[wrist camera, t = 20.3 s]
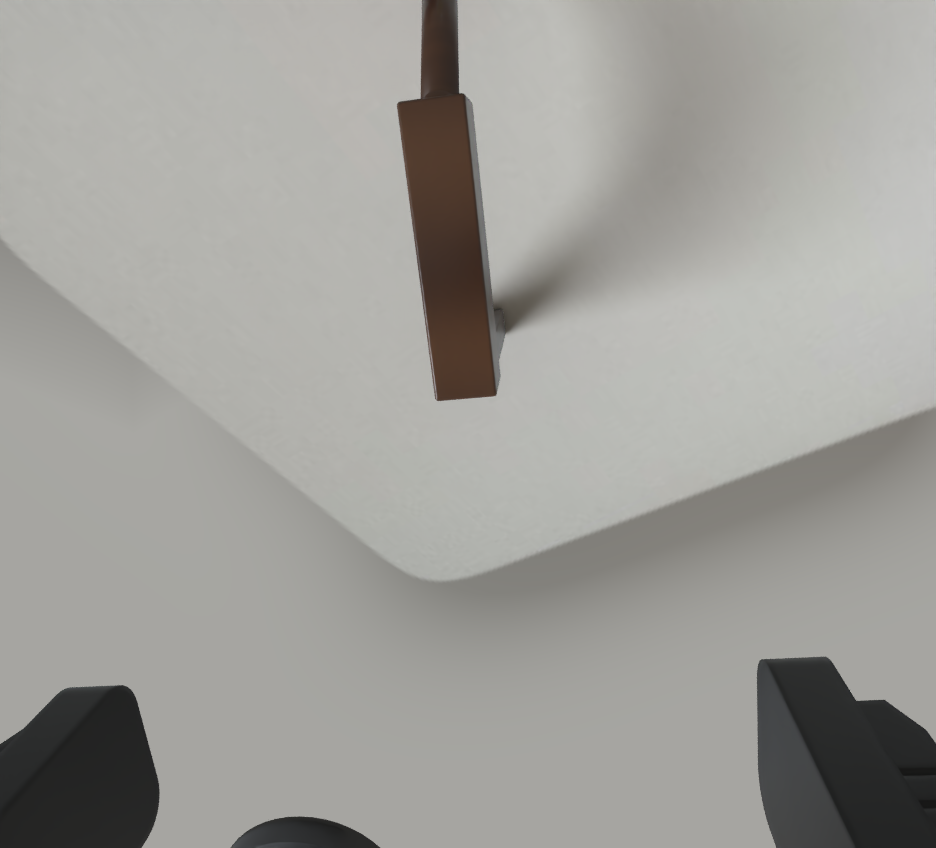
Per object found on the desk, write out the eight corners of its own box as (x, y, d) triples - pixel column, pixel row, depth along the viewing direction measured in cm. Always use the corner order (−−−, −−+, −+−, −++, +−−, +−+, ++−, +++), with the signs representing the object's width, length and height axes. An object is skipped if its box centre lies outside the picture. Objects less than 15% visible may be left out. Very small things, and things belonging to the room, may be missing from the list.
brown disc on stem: (354, -207, 28) (256, -407, 19) (504, -235, 28) (483, -457, 18) (426, 342, 34) (380, 406, 25) (551, 331, 34) (553, 391, 24)
